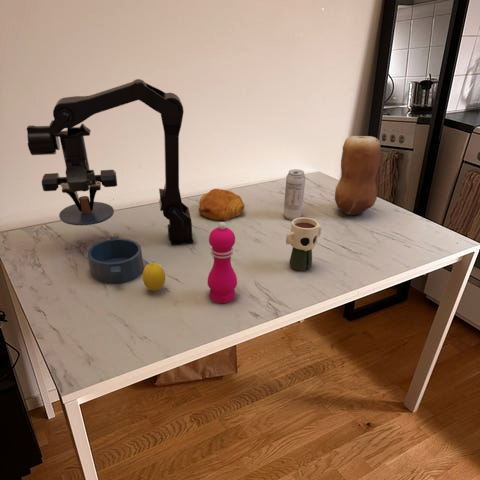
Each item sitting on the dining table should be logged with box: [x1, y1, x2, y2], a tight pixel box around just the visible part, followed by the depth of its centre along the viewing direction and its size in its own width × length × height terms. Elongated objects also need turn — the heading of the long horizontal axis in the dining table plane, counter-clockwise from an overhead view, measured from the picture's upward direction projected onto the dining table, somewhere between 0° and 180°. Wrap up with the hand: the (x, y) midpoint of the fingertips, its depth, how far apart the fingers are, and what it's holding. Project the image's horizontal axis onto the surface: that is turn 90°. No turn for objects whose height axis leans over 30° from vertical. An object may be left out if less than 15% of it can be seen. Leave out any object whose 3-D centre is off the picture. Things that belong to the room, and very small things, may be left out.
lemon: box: [142, 262, 166, 292], centre depth 113 cm, size 6×6×8 cm
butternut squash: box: [334, 135, 382, 216], centre depth 147 cm, size 14×13×25 cm
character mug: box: [285, 216, 322, 271], centre depth 122 cm, size 11×7×13 cm, turn 119°
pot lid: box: [58, 195, 115, 226], centre depth 126 cm, size 15×15×5 cm
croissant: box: [198, 188, 245, 221], centre depth 151 cm, size 14×16×8 cm
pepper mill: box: [206, 221, 238, 304], centre depth 108 cm, size 7×7×20 cm
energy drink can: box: [282, 168, 307, 221], centre depth 147 cm, size 6×6×15 cm
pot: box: [87, 235, 145, 285], centre depth 121 cm, size 14×19×6 cm
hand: (86, 210), depth 126 cm, fingers closed on pot lid, 3 cm apart
